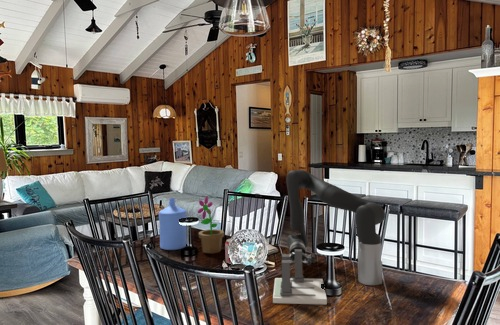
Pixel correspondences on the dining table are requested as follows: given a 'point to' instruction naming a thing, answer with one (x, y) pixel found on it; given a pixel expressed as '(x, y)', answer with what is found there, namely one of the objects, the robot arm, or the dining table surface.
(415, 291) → the dining table surface
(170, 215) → the water jug
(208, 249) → the flowerpot
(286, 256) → the middle lever
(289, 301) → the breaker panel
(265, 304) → the dining table surface
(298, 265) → the lever
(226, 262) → the soda can
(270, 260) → the dining table surface
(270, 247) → the washcloth
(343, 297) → the dining table surface
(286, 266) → the near lever
